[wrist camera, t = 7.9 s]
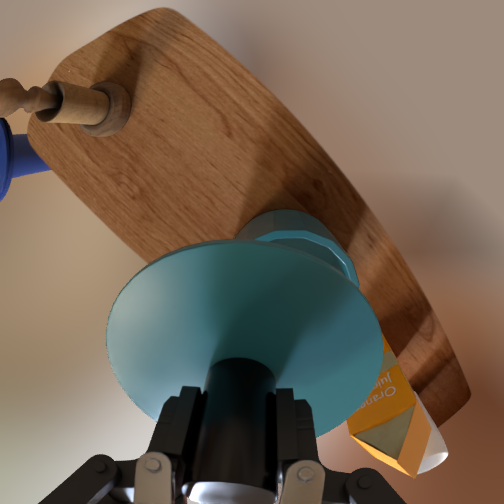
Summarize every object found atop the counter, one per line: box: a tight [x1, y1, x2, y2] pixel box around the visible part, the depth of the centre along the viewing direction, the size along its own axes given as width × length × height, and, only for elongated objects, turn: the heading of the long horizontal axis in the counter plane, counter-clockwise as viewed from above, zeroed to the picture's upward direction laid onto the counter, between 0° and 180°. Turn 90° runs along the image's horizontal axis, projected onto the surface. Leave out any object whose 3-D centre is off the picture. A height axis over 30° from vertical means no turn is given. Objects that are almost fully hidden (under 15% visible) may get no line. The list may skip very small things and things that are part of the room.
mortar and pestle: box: [0, 78, 131, 137], centre depth 19 cm, size 7×6×18 cm
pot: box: [235, 209, 359, 289], centre depth 29 cm, size 13×13×8 cm
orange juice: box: [347, 334, 432, 479], centre depth 28 cm, size 8×9×20 cm
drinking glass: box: [414, 391, 448, 474], centre depth 33 cm, size 7×7×15 cm
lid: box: [106, 239, 384, 504], centre depth 10 cm, size 13×13×7 cm
